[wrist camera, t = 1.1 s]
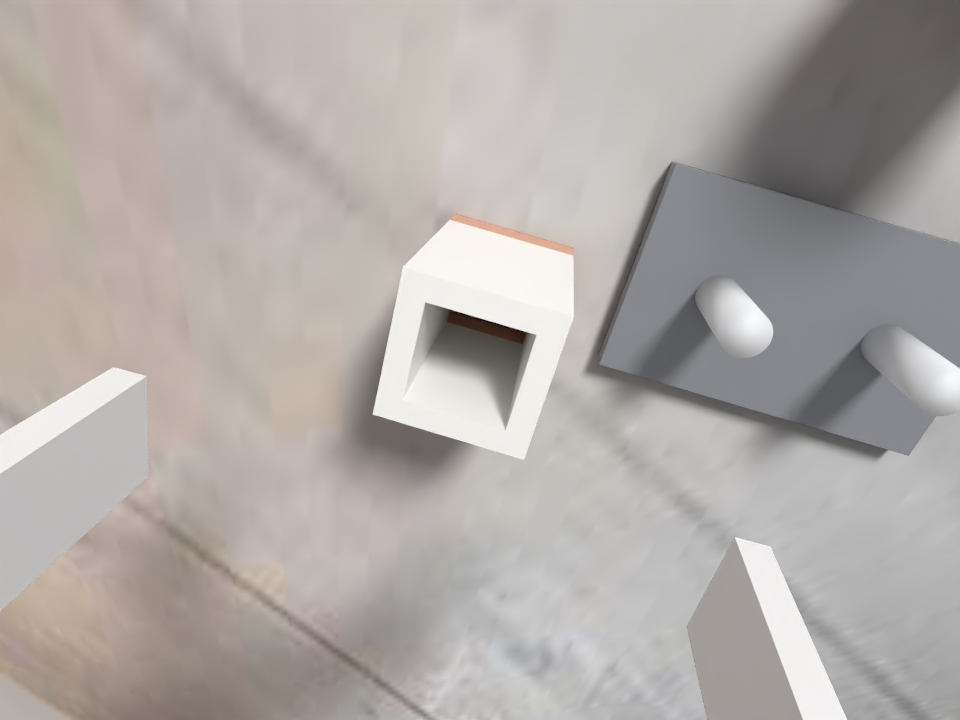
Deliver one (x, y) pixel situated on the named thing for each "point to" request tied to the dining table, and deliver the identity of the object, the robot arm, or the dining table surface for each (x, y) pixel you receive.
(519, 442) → the sleeve
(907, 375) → the grey board with pegs
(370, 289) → the dining table surface
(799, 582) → the dining table surface
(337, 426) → the dining table surface
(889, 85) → the dining table surface
